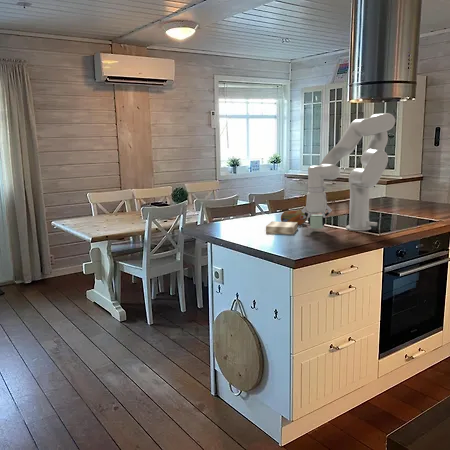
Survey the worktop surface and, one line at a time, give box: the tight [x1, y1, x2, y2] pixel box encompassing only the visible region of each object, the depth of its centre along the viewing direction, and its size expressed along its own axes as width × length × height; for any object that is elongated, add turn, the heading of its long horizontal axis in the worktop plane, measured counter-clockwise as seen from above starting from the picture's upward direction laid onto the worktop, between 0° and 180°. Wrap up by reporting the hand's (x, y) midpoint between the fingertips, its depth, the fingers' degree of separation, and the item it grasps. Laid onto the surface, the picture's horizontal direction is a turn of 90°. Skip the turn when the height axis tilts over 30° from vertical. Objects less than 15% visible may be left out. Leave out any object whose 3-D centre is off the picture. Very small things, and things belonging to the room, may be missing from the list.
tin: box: [280, 209, 308, 226], centre depth 260 cm, size 15×3×8 cm, turn 105°
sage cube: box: [309, 214, 324, 229], centre depth 240 cm, size 6×6×6 cm
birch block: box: [265, 221, 299, 235], centre depth 244 cm, size 14×14×4 cm
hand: (316, 224), depth 240 cm, fingers closed on sage cube, 6 cm apart
